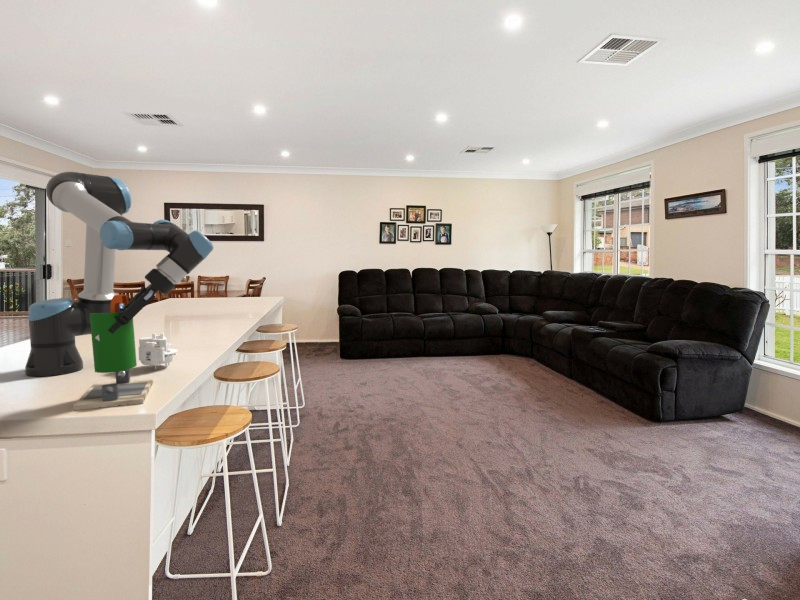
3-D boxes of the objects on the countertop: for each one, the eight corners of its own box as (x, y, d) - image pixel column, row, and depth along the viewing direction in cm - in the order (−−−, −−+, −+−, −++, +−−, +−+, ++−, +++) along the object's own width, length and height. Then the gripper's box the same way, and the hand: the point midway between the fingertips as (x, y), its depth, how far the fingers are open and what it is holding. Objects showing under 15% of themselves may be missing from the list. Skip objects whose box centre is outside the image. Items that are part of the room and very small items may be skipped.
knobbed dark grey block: (105, 397, 119) (104, 383, 119) (119, 396, 120) (118, 382, 120) (102, 401, 116) (101, 386, 116) (117, 400, 117) (116, 385, 117)
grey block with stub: (117, 382, 134) (116, 369, 133) (130, 381, 135) (129, 368, 134) (115, 385, 131) (114, 371, 130) (128, 383, 132) (127, 371, 132)
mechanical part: (184, 363, 162) (183, 330, 161) (164, 372, 150) (162, 336, 149) (154, 362, 163) (153, 329, 162) (131, 371, 151) (130, 335, 150)
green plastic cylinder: (110, 363, 129) (105, 292, 127) (143, 362, 130) (139, 292, 128) (89, 373, 119) (83, 296, 117) (125, 372, 120) (120, 296, 118)
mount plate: (94, 387, 133) (94, 382, 132) (153, 382, 138) (153, 377, 138) (73, 410, 113) (73, 404, 113) (143, 403, 119) (142, 398, 119)
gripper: (180, 287, 122) (112, 354, 115) (172, 283, 139) (112, 341, 132) (157, 267, 119) (85, 335, 112) (152, 266, 136) (89, 324, 129)
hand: (100, 338), depth 122 cm, fingers closed on green plastic cylinder, 7 cm apart
